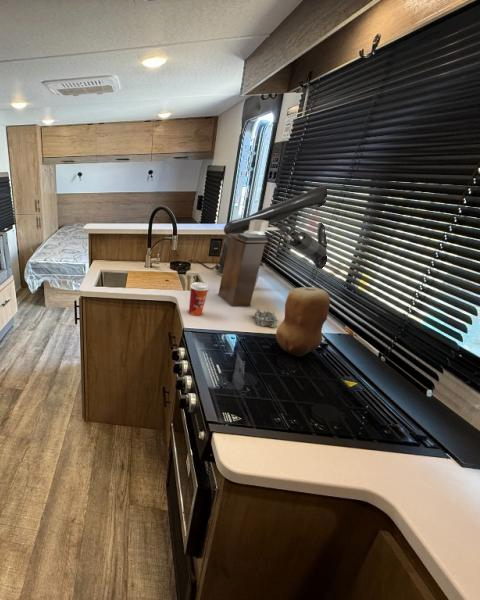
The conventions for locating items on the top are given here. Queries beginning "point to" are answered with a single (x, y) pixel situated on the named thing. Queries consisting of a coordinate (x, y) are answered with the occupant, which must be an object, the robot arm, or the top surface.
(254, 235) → the scale
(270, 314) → the grey knobbly lump
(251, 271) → the pedestal
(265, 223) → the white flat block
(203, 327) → the top surface
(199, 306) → the paper cup
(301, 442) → the top surface
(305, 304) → the butternut squash
